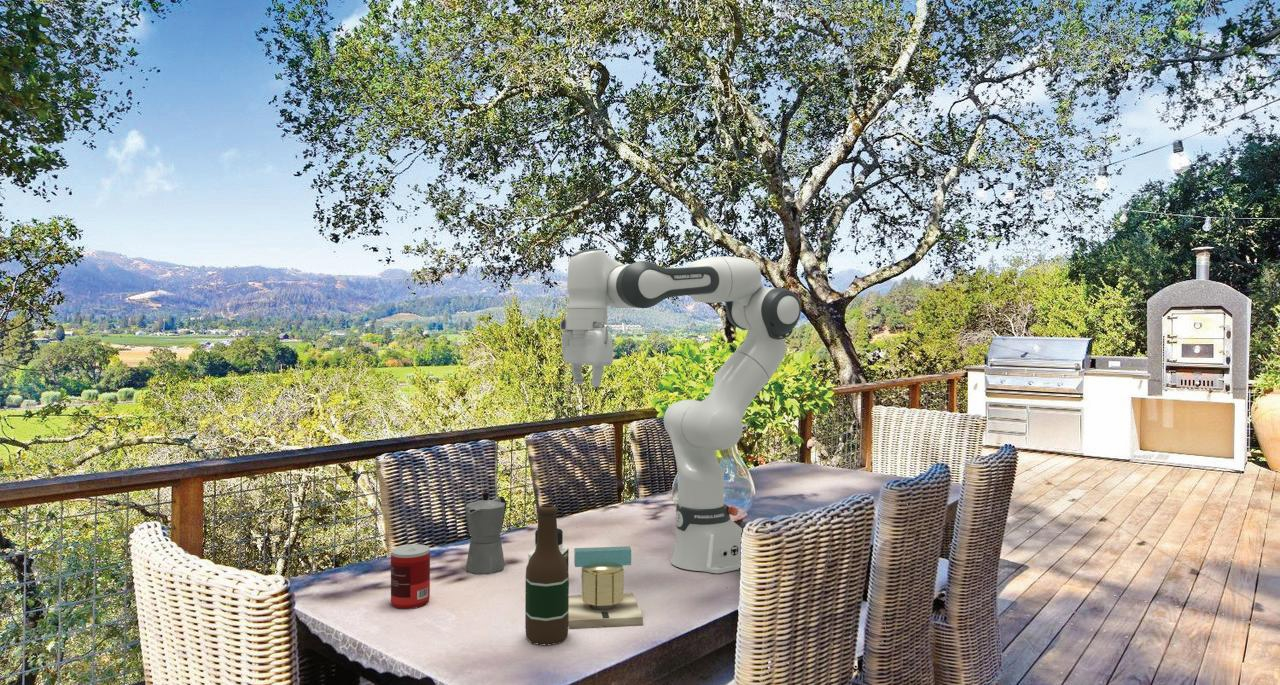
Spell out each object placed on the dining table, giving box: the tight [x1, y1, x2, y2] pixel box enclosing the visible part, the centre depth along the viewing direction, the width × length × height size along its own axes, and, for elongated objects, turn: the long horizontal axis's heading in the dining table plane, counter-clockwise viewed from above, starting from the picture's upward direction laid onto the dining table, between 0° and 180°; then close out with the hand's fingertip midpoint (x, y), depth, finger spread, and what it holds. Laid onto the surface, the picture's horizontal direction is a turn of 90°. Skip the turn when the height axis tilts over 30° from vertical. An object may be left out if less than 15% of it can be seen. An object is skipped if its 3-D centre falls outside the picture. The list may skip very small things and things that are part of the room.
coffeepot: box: [465, 491, 507, 575], centre depth 186 cm, size 15×9×18 cm, turn 159°
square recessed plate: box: [568, 592, 644, 629], centre depth 156 cm, size 14×14×6 cm
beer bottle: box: [524, 504, 570, 646], centre depth 144 cm, size 8×8×24 cm
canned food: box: [390, 543, 431, 610], centre depth 162 cm, size 8×8×11 cm
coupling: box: [573, 546, 632, 606], centre depth 156 cm, size 8×11×10 cm
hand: (586, 385), depth 175 cm, fingers open, 8 cm apart
